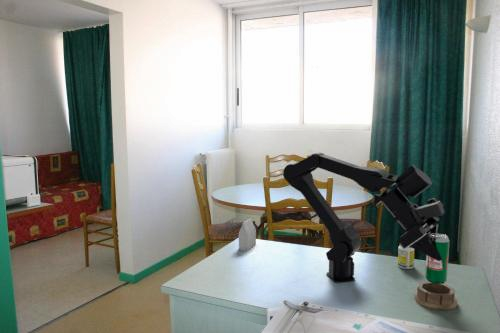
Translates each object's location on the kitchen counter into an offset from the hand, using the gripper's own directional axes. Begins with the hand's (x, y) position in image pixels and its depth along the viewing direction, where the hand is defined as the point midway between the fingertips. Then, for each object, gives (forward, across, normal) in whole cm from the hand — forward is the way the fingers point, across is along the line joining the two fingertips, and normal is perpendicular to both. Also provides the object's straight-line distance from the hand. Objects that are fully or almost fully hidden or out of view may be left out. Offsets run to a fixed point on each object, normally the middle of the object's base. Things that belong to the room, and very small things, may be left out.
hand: (443, 256), depth 102 cm
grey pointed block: (-38, +6, +56) cm, 68 cm away
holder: (+8, 0, +9) cm, 12 cm away
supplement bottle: (-1, +20, +19) cm, 28 cm away
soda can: (+4, 0, +6) cm, 7 cm away
